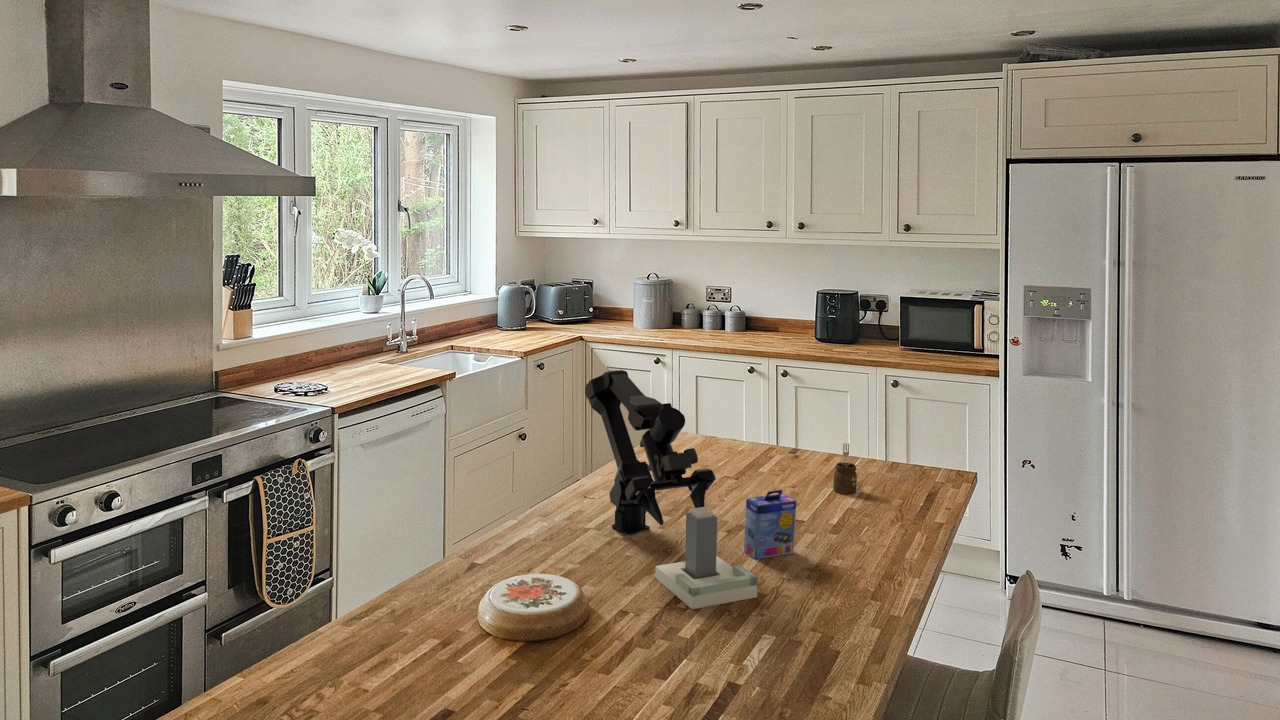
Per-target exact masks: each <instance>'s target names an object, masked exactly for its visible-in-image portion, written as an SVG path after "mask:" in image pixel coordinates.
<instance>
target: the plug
mask: <svg viewBox="0 0 1280 720" xmlns="http://www.w3.org/2000/svg"><path fill="white" fill-rule="evenodd" d="M685 521H686V522H685V548H684V551H685V555H684V558H685V560H684V561H685V573H686V574H688V575H689V576H690V577H691V578H693V579H700V578H706V577H712V576H716V556H717V545H718V542H717V541H718V516H717V515H715V514H714V511H713V510H711V509H710V508H708V507H706V506H704V507H700V508H695V507H694V508H690V512H686V513H685Z"/></svg>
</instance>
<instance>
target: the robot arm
mask: <svg viewBox="0 0 1280 720" xmlns="http://www.w3.org/2000/svg"><path fill="white" fill-rule="evenodd" d="M584 393H585V396H586V397H585V398H586V399H587V400H588V402H589V405H590V406H591V409H592V410H593V411H595V412H596V413H597V414H598V415H599V416H601V420H602V422H603V425H604V428H605V429H604V430H605V432H606V435H607V438H608V439H607V440H608V441H609V444H610V449H611V451H612V454H613V458H614V461H615V463H616V467H617V469H616V473H615V476H614V479H613V480H614V481H613V482H614V485H613V486H612V487H611V490H610V491H609V493H608V494H609V500H610V501H609V502H610V503H612V505H614V506H615V510H614V524H611V528H612V529H615V530H617V531H620V532H622V533H624V534H626V535H632V534H636V533H639V532H643V531H646V530H649V529H651V527H650V525H647V524H646V516H647V515H646V512H647V514H649V515H650V516H651V517H652V518H653V519H654V521H656V523H658V524H659V526H663V525H664V524H665V523H664V517H663V514H662V512H661V509H660V507H659V504H658V501H657V497H656V491H663V490H671V489H678V488H688V490H689V491H690V493H689V496H690V499H691V500H692V501H691V502H692V504H693V507H694V508H700V507H705V497H706V491H708V490H709V489H710V487H711V486H712V485H713V484H714V482H715V481H716V479H717V478H716V475H715V473H714V471H713V470H712V469H710V468H702V469H694V470H693V472H692V474H691V475H690V476H686V477H683V475H685V474H686V473H687V470H686V469H691V468H692V465H695V464H697V463H698V462H699V458H698V454H697V452H696V449H695V447H692V448H686V449H684V450H683V452H679V453H678V451H674V449H673V445H672V443H674V441H675V440H676V439H677V438H678V436H679V434H680V433H681V431H682V429H683V428H684V427H685V425H686V417H685V415H684V414H683V413H682V412H681V411H680V410H679V409H677V408H675V407H673V406H672V403H670V402H669V403H668V402H667V403H661V402H660V401H659V400H657V399H656V398H652V397H649V396H646V395H644V394H645V393H643V391H641V389H639V387H638V386H637V385H636V384H635V383H634V382H633V381H632V380H631V378H630V377H629V374H628V372H627V371H626V370H623V369H615V370H607V371H605V372H604V373H603V374H601V375H599V376H596V377H594V378H592V379H590V380H589V381H588V383H587V384H585V387H584ZM621 405H623V406H624V407H625V409H626V411H628V416H627V420H628V422H629V424H630V425H631V427H632V428H633V430H635V431H645V432H644V434H642V436H641V440H640V442H639V448H643V449H644V452H645V455H646V457H647V461H648V463H647V461H640V460H639V459H638V457H637V454H636V452H635V449H634V446H633V443H632V439H631V436H630V434H629V431H628V427H627V424H626V421H625V418H624V416H623V415H624V414H623V412H622V409H621Z"/></svg>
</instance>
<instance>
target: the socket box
mask: <svg viewBox="0 0 1280 720" xmlns="http://www.w3.org/2000/svg"><path fill="white" fill-rule="evenodd" d="M655 579H656V580H657V581H658V582H660V584H662V585H663V586H664V587H666V589H668V590H669V591H670V592H671V593H672V594H673V595H674V596H676V597H677V598H678V599H680V601H682V603H684V604H685V605H686V606H687V607H688V608H690V609H691V610H696V609H701V608H707V607H712V606H717V605H722V604H727V603H733V602H737V601H744V600H749V599H754V598H758V579H759V578H758V576H757V575H756V574H754V573H752V572H751V571H750V570H749V569H747V568H746V567H744V566H743V565H741V564H739V563H738V564H733V565H730V564H729V563H727V562H726V561H725V560H724V559H722V558H720V557H719V556H717V555H716V576H712V577H706V578H700V579H693V578H691V577H690V576H689V575H688V574H686V573H685V560H684V561H678V562H674V563H667V564H660V565H655Z"/></svg>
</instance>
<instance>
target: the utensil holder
mask: <svg viewBox="0 0 1280 720" xmlns="http://www.w3.org/2000/svg"><path fill="white" fill-rule="evenodd" d="M851 455H852V454H850V443H847V442H846V443H845V442H844V443H843V444H842V456H841V458H840V462H838V463H836V465H835V471H834V474H833V491H834V492H835V493H838V494H840V495H841V494H842V495H852V494H854V493H856V491H857V485H858V474H857V472H856V471H857V465H856V464H854V463H851V458H852V457H851ZM843 457H844V462H843ZM847 457H849V462H847Z"/></svg>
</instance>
